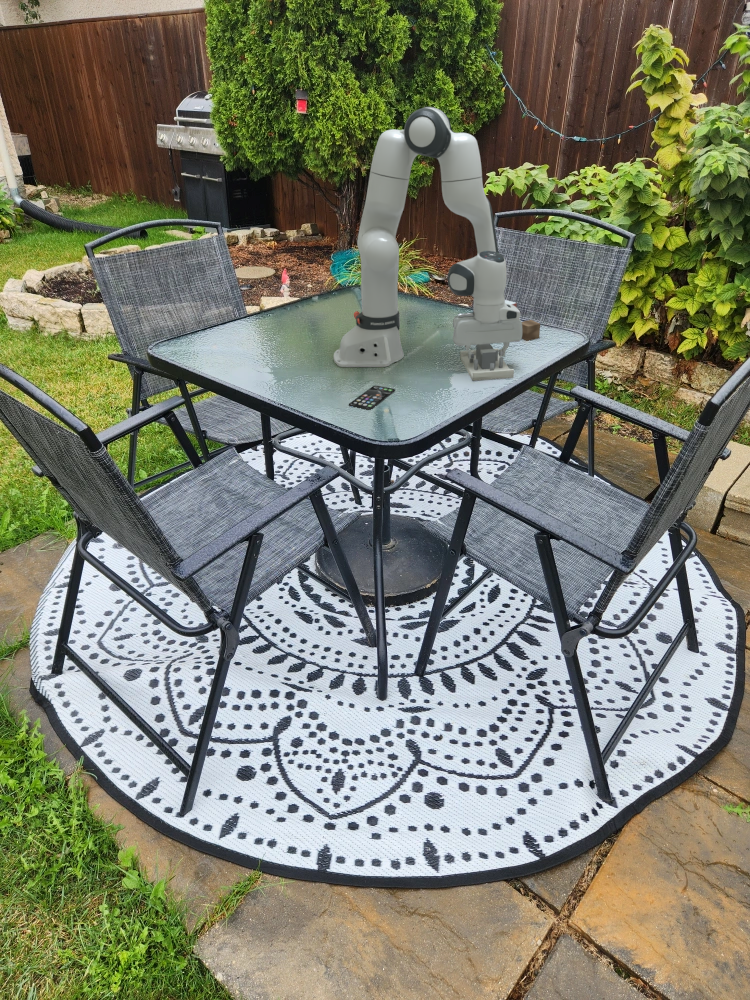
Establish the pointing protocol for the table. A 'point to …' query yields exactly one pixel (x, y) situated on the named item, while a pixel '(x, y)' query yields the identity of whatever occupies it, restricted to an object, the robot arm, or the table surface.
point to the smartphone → (372, 397)
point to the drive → (485, 355)
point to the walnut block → (530, 330)
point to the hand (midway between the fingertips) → (486, 357)
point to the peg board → (486, 374)
